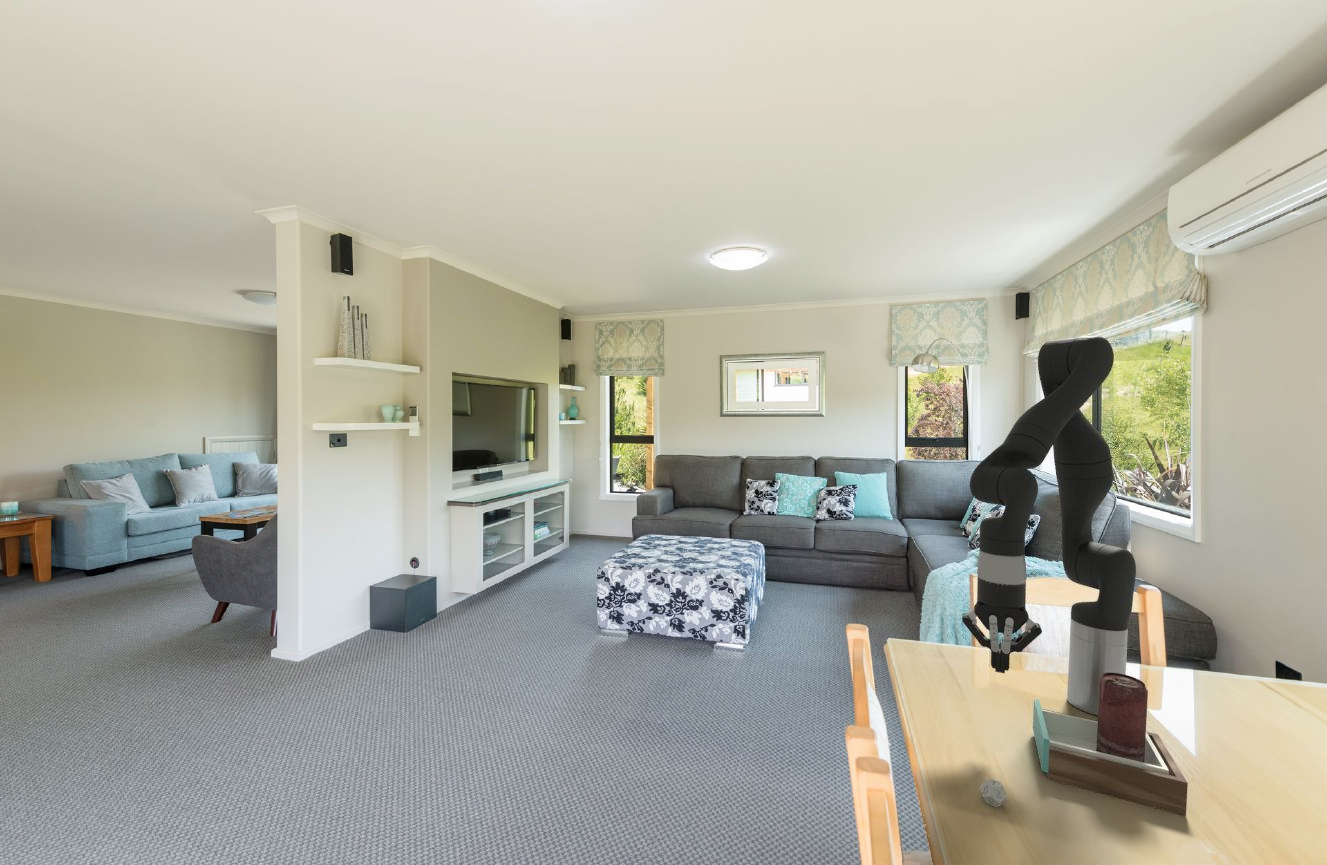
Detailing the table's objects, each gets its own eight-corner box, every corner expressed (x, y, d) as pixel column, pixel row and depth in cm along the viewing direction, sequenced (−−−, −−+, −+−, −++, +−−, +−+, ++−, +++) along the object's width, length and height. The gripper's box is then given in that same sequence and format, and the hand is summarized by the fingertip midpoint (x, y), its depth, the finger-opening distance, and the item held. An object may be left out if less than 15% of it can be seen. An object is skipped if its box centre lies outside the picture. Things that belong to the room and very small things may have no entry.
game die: (977, 803, 86) (977, 783, 86) (982, 791, 89) (983, 772, 89) (1004, 813, 84) (1004, 793, 84) (1008, 801, 87) (1009, 781, 87)
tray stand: (1037, 734, 105) (1038, 707, 105) (1156, 762, 97) (1157, 733, 97) (1047, 779, 92) (1049, 748, 92) (1185, 815, 84) (1187, 782, 84)
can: (1085, 752, 96) (1089, 671, 96) (1120, 751, 97) (1124, 670, 97) (1117, 775, 90) (1121, 688, 90) (1153, 773, 91) (1158, 687, 91)
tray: (1032, 727, 106) (1033, 698, 105) (1143, 753, 98) (1144, 722, 98) (1042, 770, 92) (1043, 738, 92) (1170, 804, 85) (1172, 768, 85)
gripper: (1042, 575, 103) (1040, 669, 104) (960, 566, 109) (958, 655, 110) (1048, 587, 96) (1046, 688, 97) (959, 577, 102) (958, 671, 103)
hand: (999, 670), depth 103 cm, fingers closed
